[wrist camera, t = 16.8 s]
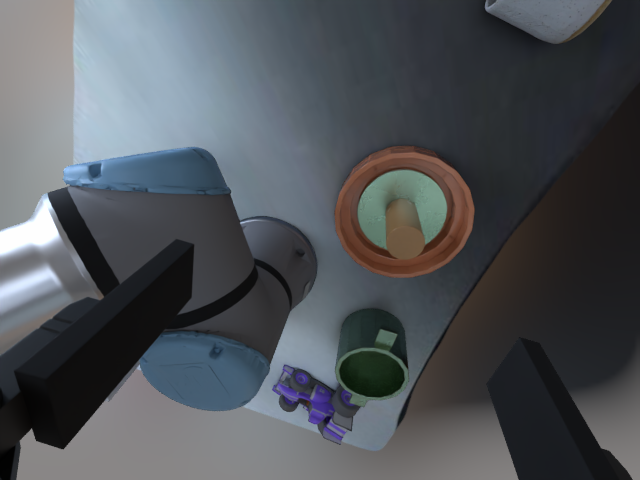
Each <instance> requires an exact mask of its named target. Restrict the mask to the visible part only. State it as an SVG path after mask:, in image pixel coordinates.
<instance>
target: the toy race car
mask: <svg viewBox="0 0 640 480" xmlns="http://www.w3.org/2000/svg"><path fill="white" fill-rule="evenodd" d="M283 370H284V372H283V374H282V376H281V378H280V380H279V382H278V384H277V386H275V385H274V387H273V389H272V390H273V391H274V392H276V393H277V394H278V395H281V396H280V398H279V404H280V407H281V408H282V409H283V410H284V411H287V412H292V411H294V410H295V409H296V408H297V406H298V405H299V403H300V404H302V405H304V406H303V408H304V409H306V410H307V411H309V419H308V421H309V422H311V423H313V424H317V425H318V429H319V431H320V433H321V434H322V436H323V437H324V438H325V439H327V440H330V441H332V442H335V443H337V444H339V445H341V440H342V438H343V436H344V434H345V433H346V432H347V430H350V431H352V422H353V416H354V415H355V414H356V412H357V411H358V410H359V408H360V407H361V406H358V405H355V404H351V403H349V400H350V396H351V393H349V392H348V391H346V390H345V389H344V388H343V387H342V386H340V387H339V388H338V389H337V391H336V392H334V391H333V390H331V389H330V388H328V387H327V386H325V385H324V384H322V383H321V382H319V381H317V380H315V379H312V378H311V377H310V375H309V374H308V373H307V372H306V371H304V370H296V371H294V369H293V368H291V367H289V366H286V365H284V367H283ZM293 371H294V372H293ZM292 373H293V374H292ZM288 374H290V375H291V374H292V376H291V378H290V384H289V386H286V385H284V384H283V381H284V380H285V378H286V376H287V375H288ZM281 393H282V394H281Z"/></svg>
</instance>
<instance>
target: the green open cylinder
mask: <svg viewBox="0 0 640 480" xmlns="http://www.w3.org/2000/svg"><path fill="white" fill-rule="evenodd" d="M335 373H336V378H337V381H338V382H339V383H340V384H341V386H342V387H343V388H344V389H345V390H346V391H348V392H349V393H351V396H350V400H349V403H351V404H355V405H358V406H361V407H364V406H365V404H366V402H367V400H385V399H389V398H393V397H395V396H397V395H398V394H400V393H401V392H402V391H404V389H405V388H406V386H407V384H408V382H409V373H408V361H407V350H406V340H405V330H404V328H403V326H402V324H401V322H400V321H399V320H398V319H397V318H396V317H395V316H394V315H392V314H390V313H388V312H386V311H383V310H379V309H363V310H359V311H356V312H354V313H352V314H351V315H350V316H348V317H347V318H346V320H345V321H344V323H343V325H342V329H341V334H340V340H339V346H338V353H337V359H336V366H335Z"/></svg>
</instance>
